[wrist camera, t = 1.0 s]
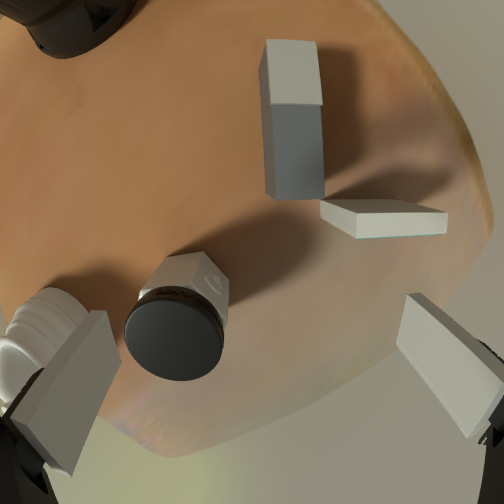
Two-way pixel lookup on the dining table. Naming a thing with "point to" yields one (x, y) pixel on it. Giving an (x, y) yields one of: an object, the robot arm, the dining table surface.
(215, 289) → the jar
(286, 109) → the grey rectangular block
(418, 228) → the tile
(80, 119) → the dining table surface
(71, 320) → the honey pot
